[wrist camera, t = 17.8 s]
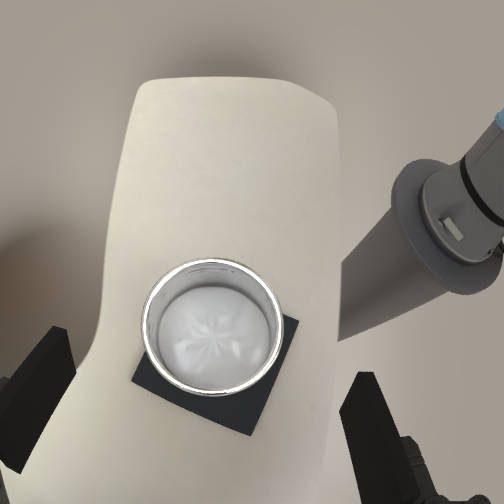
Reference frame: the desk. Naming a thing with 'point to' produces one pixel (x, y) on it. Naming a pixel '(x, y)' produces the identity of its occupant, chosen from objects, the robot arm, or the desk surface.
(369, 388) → the robot arm
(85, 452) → the desk surface
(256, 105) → the desk surface
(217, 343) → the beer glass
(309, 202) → the desk surface
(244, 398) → the placemat
